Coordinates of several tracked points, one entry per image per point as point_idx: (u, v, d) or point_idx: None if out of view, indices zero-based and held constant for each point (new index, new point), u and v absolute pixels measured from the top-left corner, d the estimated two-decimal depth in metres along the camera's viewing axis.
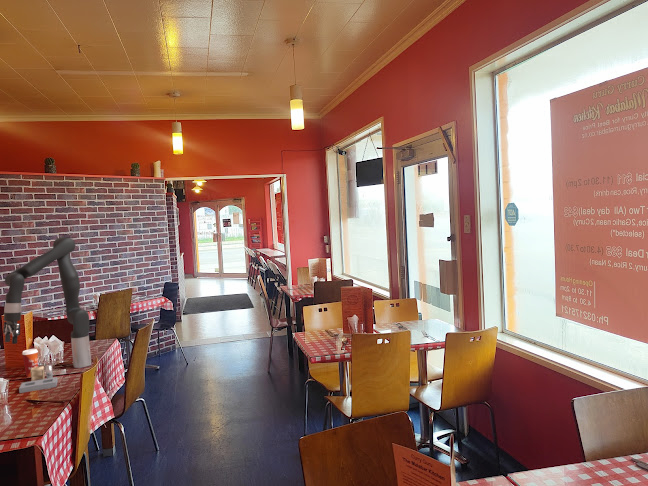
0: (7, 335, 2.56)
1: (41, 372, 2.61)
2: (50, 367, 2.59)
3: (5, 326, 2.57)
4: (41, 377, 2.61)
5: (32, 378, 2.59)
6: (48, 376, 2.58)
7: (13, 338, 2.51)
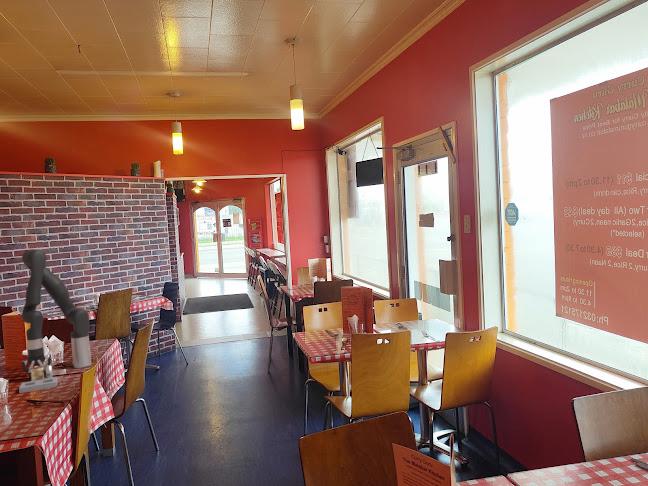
0: None
1: (41, 372, 2.61)
2: (50, 367, 2.59)
3: (25, 365, 2.59)
4: (41, 377, 2.61)
5: (32, 378, 2.59)
6: (48, 376, 2.58)
7: (45, 372, 2.63)
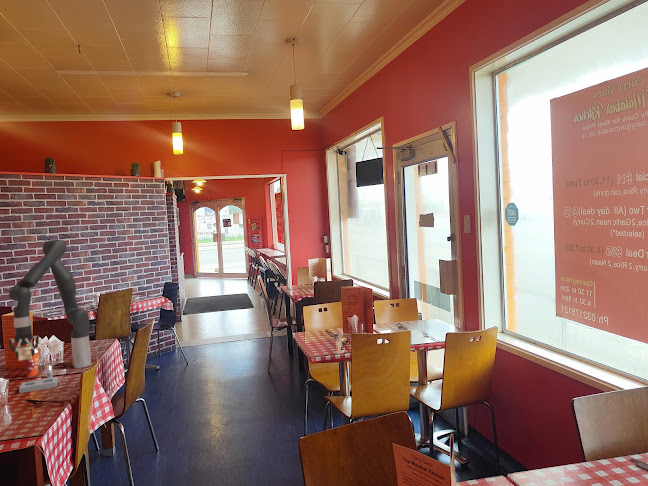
0: None
1: (29, 351, 2.53)
2: (50, 367, 2.59)
3: (12, 343, 2.51)
4: (29, 356, 2.53)
5: (19, 357, 2.51)
6: (48, 376, 2.58)
7: (32, 351, 2.55)
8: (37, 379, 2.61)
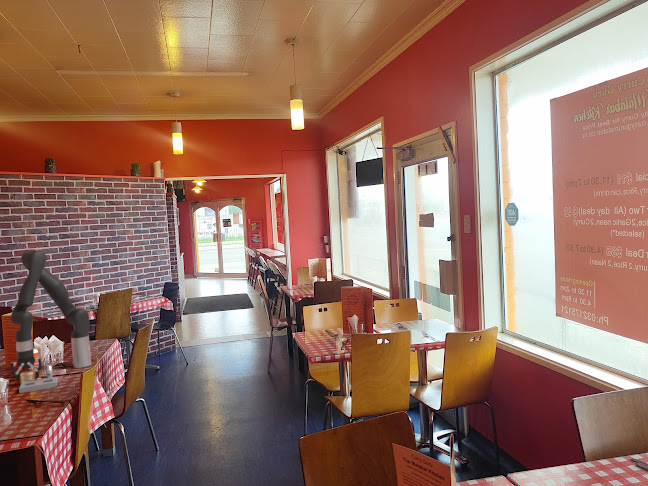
0: (18, 374, 2.53)
1: (31, 376, 2.54)
2: (50, 367, 2.59)
3: (13, 366, 2.52)
4: None
5: None
6: (48, 376, 2.58)
7: (37, 373, 2.56)
8: (37, 379, 2.61)
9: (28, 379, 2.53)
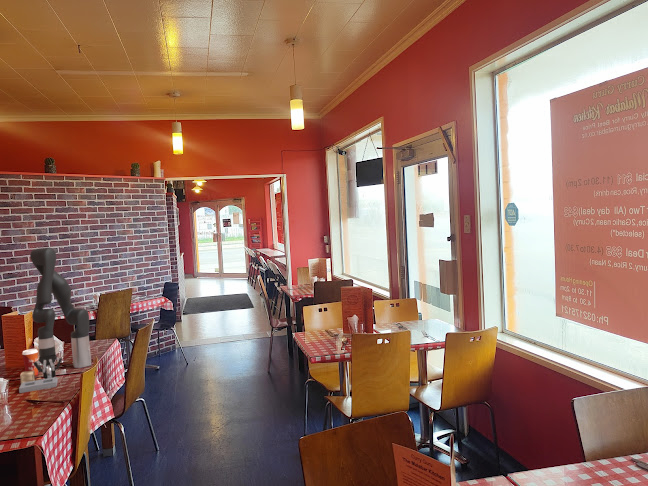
0: (45, 372, 2.58)
1: (31, 376, 2.54)
2: (50, 367, 2.59)
3: (38, 365, 2.56)
4: None
5: None
6: (48, 376, 2.58)
7: (53, 372, 2.60)
8: (37, 379, 2.61)
9: (28, 379, 2.53)
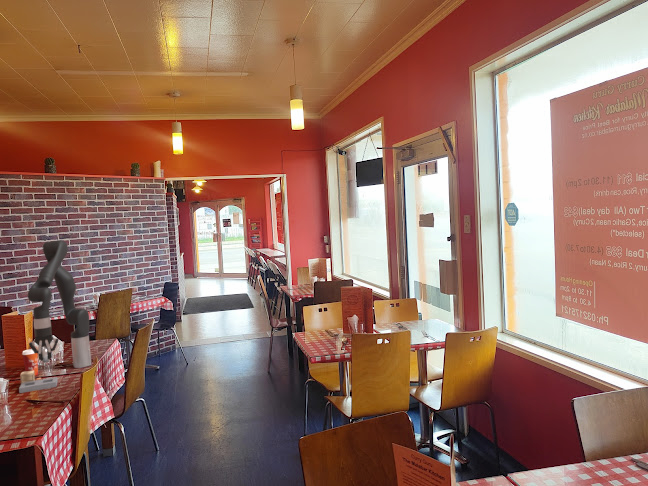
0: (41, 353, 2.49)
1: (31, 376, 2.54)
2: (46, 348, 2.49)
3: (33, 346, 2.47)
4: None
5: None
6: (44, 357, 2.48)
7: (50, 354, 2.50)
8: (37, 379, 2.61)
9: (28, 379, 2.53)
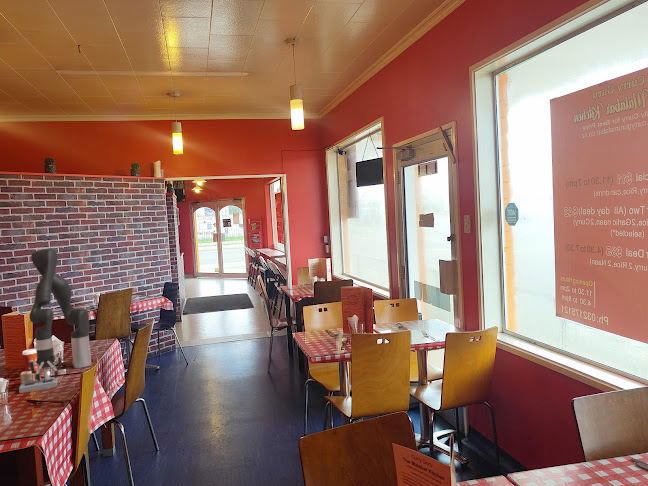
0: (39, 374, 2.48)
1: (31, 376, 2.54)
2: (48, 372, 2.50)
3: (33, 366, 2.47)
4: None
5: None
6: (46, 381, 2.49)
7: (56, 372, 2.51)
8: None
9: (28, 379, 2.53)
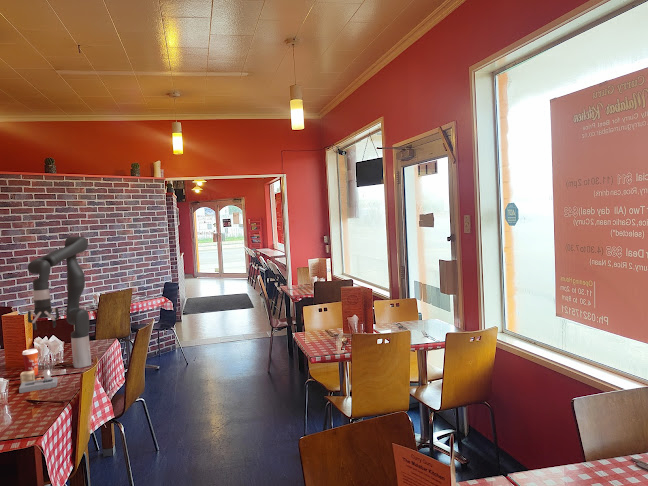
0: (35, 323, 2.54)
1: (31, 376, 2.54)
2: (48, 372, 2.50)
3: (30, 315, 2.53)
4: None
5: None
6: (46, 381, 2.49)
7: (54, 322, 2.57)
8: (37, 379, 2.61)
9: (28, 379, 2.53)
